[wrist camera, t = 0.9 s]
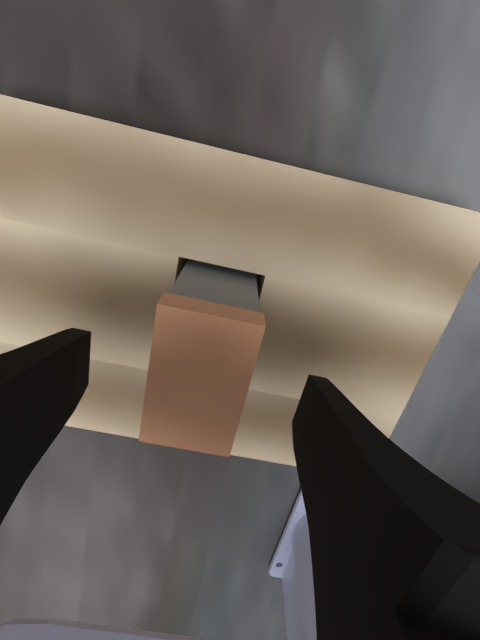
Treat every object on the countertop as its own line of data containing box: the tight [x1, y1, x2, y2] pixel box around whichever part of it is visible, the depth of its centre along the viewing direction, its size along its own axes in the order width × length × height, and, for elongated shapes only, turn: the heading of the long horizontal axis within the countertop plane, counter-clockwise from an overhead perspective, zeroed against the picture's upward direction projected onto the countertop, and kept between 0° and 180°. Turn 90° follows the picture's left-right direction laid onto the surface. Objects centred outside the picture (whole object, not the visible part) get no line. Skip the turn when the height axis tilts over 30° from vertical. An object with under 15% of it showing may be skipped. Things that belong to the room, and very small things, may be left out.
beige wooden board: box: [0, 94, 480, 466], centre depth 17 cm, size 14×20×3 cm
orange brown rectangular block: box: [139, 259, 266, 457], centre depth 15 cm, size 5×3×7 cm, turn 167°
